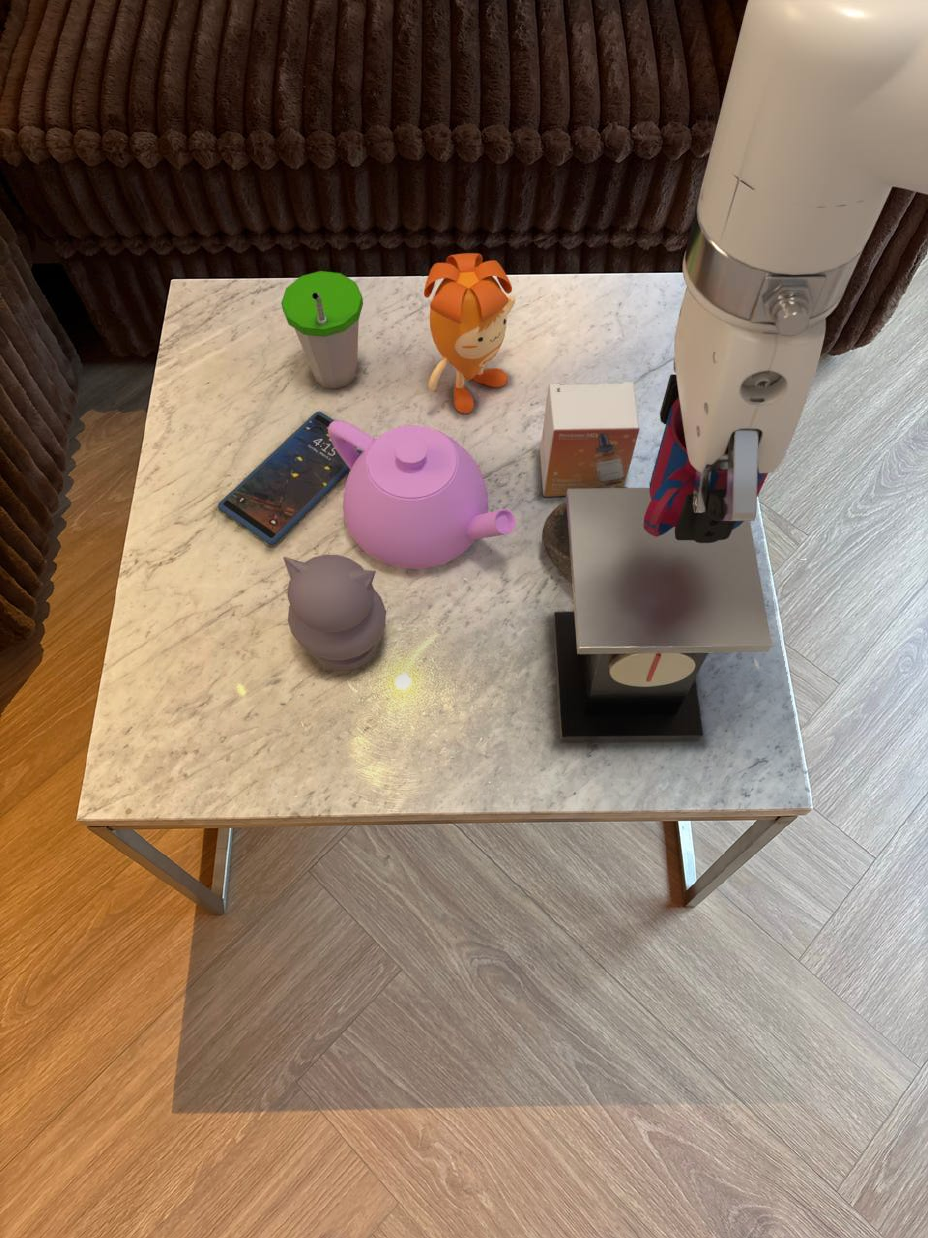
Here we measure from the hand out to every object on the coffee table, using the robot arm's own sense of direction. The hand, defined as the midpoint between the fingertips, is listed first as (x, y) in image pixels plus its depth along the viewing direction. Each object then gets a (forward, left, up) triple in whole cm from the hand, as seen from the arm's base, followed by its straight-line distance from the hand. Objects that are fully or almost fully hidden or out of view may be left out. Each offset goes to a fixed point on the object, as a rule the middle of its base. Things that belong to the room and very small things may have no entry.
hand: (692, 475), depth 59 cm
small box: (-9, -19, -29) cm, 36 cm away
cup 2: (0, 0, -3) cm, 3 cm away
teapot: (+7, -23, -29) cm, 38 cm away
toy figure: (-6, -35, -29) cm, 46 cm away
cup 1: (+5, -44, -29) cm, 53 cm away
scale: (+1, +1, -29) cm, 29 cm away
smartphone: (+15, -34, -29) cm, 47 cm away
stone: (-5, -10, -29) cm, 32 cm away
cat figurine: (+20, -16, -29) cm, 39 cm away
